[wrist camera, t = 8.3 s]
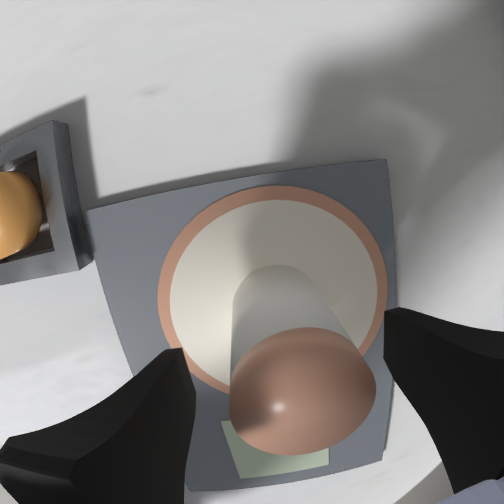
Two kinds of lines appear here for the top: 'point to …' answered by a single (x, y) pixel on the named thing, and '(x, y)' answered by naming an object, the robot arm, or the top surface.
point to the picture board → (228, 280)
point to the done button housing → (49, 204)
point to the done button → (18, 212)
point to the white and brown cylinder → (293, 367)
